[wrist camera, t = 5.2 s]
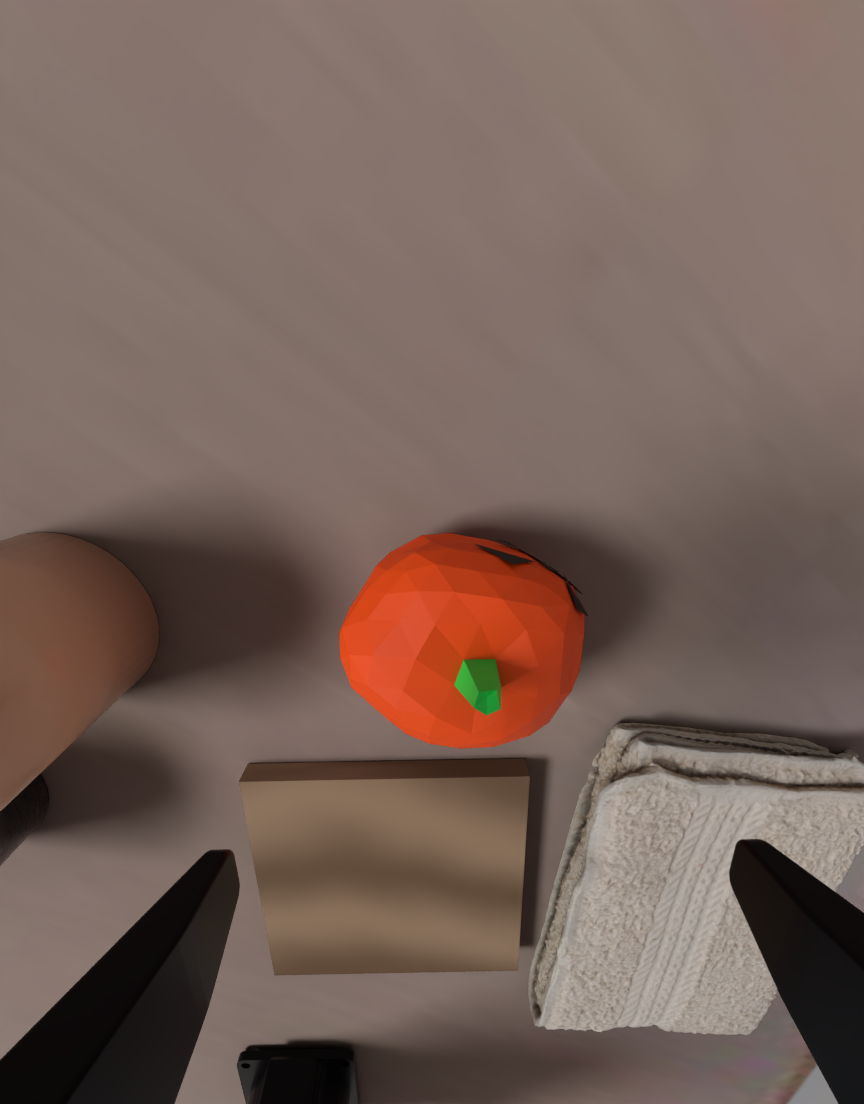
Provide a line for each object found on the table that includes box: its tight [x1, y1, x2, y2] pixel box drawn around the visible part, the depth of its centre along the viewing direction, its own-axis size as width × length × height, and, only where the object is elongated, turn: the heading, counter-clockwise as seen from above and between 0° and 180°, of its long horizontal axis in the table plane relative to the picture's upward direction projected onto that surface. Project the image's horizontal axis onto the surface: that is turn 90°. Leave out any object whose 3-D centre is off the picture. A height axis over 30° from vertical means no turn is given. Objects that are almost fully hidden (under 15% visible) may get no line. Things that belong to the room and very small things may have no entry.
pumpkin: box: [339, 533, 588, 749], centre depth 15 cm, size 7×8×6 cm
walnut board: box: [239, 758, 530, 975], centre depth 21 cm, size 12×12×1 cm
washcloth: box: [528, 723, 864, 1036], centre depth 21 cm, size 12×18×3 cm, turn 174°
